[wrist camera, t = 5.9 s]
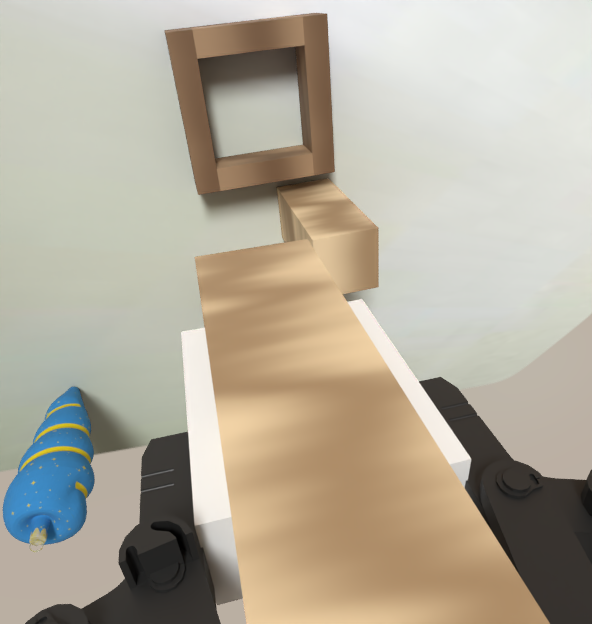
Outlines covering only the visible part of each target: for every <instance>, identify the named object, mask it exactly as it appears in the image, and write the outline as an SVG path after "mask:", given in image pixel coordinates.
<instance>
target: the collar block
mask: <svg viewBox="0 0 592 624" xmlns="http://www.w3.org/2000/svg"><path fill="white" fill-rule="evenodd" d="M165 35H166V40H167V45H168V50H169V55H170V60H171V65H172V70H173V75H174V80H175V85H176V90H177V94H178V99H179V104H180V109H181V114H182V119H183V124H184V129H185V134H186V139H187V144H188V149H189V154H190V159H191V164H192V169H193V174H194V179H195V184H196V188H197V192H198V195H200V194H206V193H212V192H218V191H224V190H230V189H236V188H242V187H248V186H254V185H260V184H266V183H272V182H278V181H284V180H289V179H295V178H301V177H307V176H313V175H319V174H325V173H331V172H335V167H334V146H333V126H332V105H331V84H330V63H329V43H328V22H327V14H323V13H311V14H302V15H293V16H285V17H276V18H268V19H259V20H250V21H242V22H233V23H224V24H216V25H207V26H198V27H190V28H181V29H173V30H165ZM287 47H295V50H296V63H297V75H298V87H299V100H300V112H301V125H302V137H303V145H298V146H292V147H286V148H279V149H273V150H267V151H260V152H254V153H247V154H241V155H235V156H228V157H222V158H216V159H215V156H214V151H213V145H212V139H211V133H210V128H209V122H208V116H207V111H206V105H205V99H204V94H203V88H202V82H201V76H200V71H199V65H198V59H199V58H207V57H215V56H223V55H231V54H239V53H247V52H255V51H263V50H271V49H279V48H287Z"/></svg>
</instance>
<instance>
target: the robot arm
mask: <svg viewBox="0 0 592 624" xmlns="http://www.w3.org/2000/svg"><path fill="white" fill-rule="evenodd" d="M348 304H349V305H350V307H351V309H352V310H353V312H354V313H355V315H356V317H357V318H358V320H359V321H360V323H361V325H362V326H363V328H364V329H365V331H366V332H367V334H368V336H369V337H370V339H371V340H372V342H373V344H374V345H375V347H376V348H377V350H378V352H379V353H380V355H381V356H382V358H383V359H384V361H385V363H386V364H387V366H388V367H389V369H390V371H391V372H392V374H393V375H394V377H395V379H396V380H397V382H398V383H399V385H400V386H401V388H402V390H403V391H404V393H405V394H406V396H407V398H408V399H409V401H410V402H411V404H412V405H413V407H414V409H415V410H416V412H417V413H418V415H419V417H420V418H421V420H422V421H423V423H424V425H425V426H426V428H427V429H428V431H429V432H430V434H431V436H432V437H433V439H434V440H435V442H436V444H437V445H438V447H439V448H440V450H441V452H442V453H443V455H444V456H445V458H446V459H447V461H448V463H449V464H450V466H451V467H452V469H453V471H454V472H455V474H456V475H457V477H458V479H459V480H460V482H461V483H462V485H463V486H464V488H465V490H466V491H467V493H468V494H469V496H470V498H471V499H472V501H473V502H474V504H475V506H476V507H477V509H478V510H479V512H480V513H481V515H482V517H483V518H484V520H485V521H486V523H487V525H488V526H489V528H490V529H491V531H492V532H493V534H494V536H495V537H496V539H497V540H498V542H499V544H500V545H501V547H502V548H503V550H504V552H505V553H506V555H507V556H508V558H509V559H510V561H511V563H512V564H513V566H514V567H515V569H516V571H517V572H518V574H519V575H520V577H521V579H522V580H523V582H524V583H525V585H526V586H527V588H528V590H529V591H530V593H531V594H532V596H533V598H534V599H535V601H536V602H537V604H538V606H539V607H540V609H541V610H542V612H543V613H544V615H545V617H546V618H547V620H548V621H549V623H550V624H592V470H591V471H590V474H589V475H588V478H587V480H575V479H555V478H548V477H543V476H542V475H541V474H540V473H539V472H537V471H536V470H535V469H533V468H532V467H530V466H529V465H526V464H523V463H521V462H518V461H514V460H513V459H512V458H511V457H510V455H509V454H508V453H507V452H506V450H505V449H504V448H503V446H502V445H501V444H500V442H499V441H498V440H497V439H496V437H495V436H494V435H493V433H492V432H491V431H490V430H489V428H488V427H487V426H486V425H485V423H484V422H483V420H482V419H481V418H480V417H479V416H477V413H476V411H475V410H474V409H473V408H472V406H471V405H470V404H468V401H467V400H466V398H465V397H464V396H463V395H462V393H461V392H460V391H459V389H458V388H457V387H455V386H454V385H452V384H451V383H449V382H448V381H446V380H444V379H443V378H441V377H438V378H434V379H429V380H424V381H419V382H418V380H417V379H416V377H415V376H414V374H413V373H412V371H411V370H410V368H409V367H408V365H407V364H406V363H405V361H404V360H403V358H402V357H401V355H400V354H399V352H398V351H397V349H396V348H395V346H394V345H393V344H392V342H391V341H390V339H389V338H388V336H387V335H386V333H385V332H384V330H383V329H382V327H381V326H380V325H379V323H378V322H377V320H376V319H375V317H374V316H373V314H372V313H371V311H370V310H369V308H368V307H367V305H366V304H365V303H364V301H363V300H362V299H360V300H354V301H349V302H348ZM181 336H182V350H183V365H184V379H185V394H186V408H187V423H188V432H184V433H180V434H175V435H170V436H165V437H161V438H156V439H151V441H150V443H149V445H148V447H147V448H146V450H145V452H144V454H143V456H142V469H141V470H142V471H141V476H142V479H141V499H140V524H138V525H137V526H135V528H134V529H133V530H132V531H131V532H130V533H129V534H128V535H127V536H126V537H125V539H124V541H123V544H122V545H121V548H120V550H119V565H120V568H121V570H122V572H123V575H124V577H125V579H124V580H123V582H121V583H120V585H118V587H116V588H115V589H114V590H112V591H111V592H109V593H108V594H106V595H104V596H103V597H101V598H99V599H98V600H96V601H94V602H92V603H91V604H89V605H87V606H86V607H84V608H82V609H80V608H78V607H76V606H74V605H72V604H57V605H54V606H52V607H49V608H47V609H44V610H42V611H40V612H39V613H38V614H36V615H35V616H34V617H32V618H31V619H30V620H28V621H27V622H26V623H25V624H221V623H220V620H219V617H218V614H217V610H216V603H217V605H220V604H223V603H227V602H231V601H234V600H238V599H242V598H243V596H242V588H241V581H240V574H239V567H238V560H237V553H236V546H235V539H234V532H233V525H232V517H231V510H230V503H229V496H228V489H227V482H226V475H225V468H224V461H223V454H222V447H221V439H220V432H219V425H218V418H217V411H216V404H215V397H214V390H213V383H212V376H211V368H210V361H209V354H208V347H207V340H206V333H205V328H199V329H194V330H188V331H183V332H181Z"/></svg>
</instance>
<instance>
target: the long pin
mask: <svg viewBox="0 0 592 624" xmlns="http://www.w3.org/2000/svg"><path fill="white" fill-rule="evenodd" d="M195 262H196V269H197V276H198V283H199V290H200V298H201V305H202V312H203V319H204V326H205V333H206V340H207V347H208V354H209V361H210V368H211V376H212V383H213V390H214V397H215V404H216V411H217V418H218V425H219V432H220V439H221V447H222V454H223V461H224V468H225V475H226V482H227V489H228V496H229V503H230V510H231V517H232V525H233V532H234V539H235V546H236V553H237V560H238V567H239V574H240V581H241V588H242V596H243V603H244V610H245V617H246V624H550V623H549V621H548V620H547V618H546V617H545V615H544V613H543V612H542V610H541V609H540V607H539V606H538V604H537V602H536V601H535V599H534V598H533V596H532V594H531V593H530V591H529V590H528V588H527V586H526V585H525V583H524V582H523V580H522V579H521V577H520V575H519V574H518V572H517V571H516V569H515V567H514V566H513V564H512V563H511V561H510V559H509V558H508V556H507V555H506V553H505V552H504V550H503V548H502V547H501V545H500V544H499V542H498V540H497V539H496V537H495V536H494V534H493V532H492V531H491V529H490V528H489V526H488V525H487V523H486V521H485V520H484V518H483V517H482V515H481V513H480V512H479V510H478V509H477V507H476V506H475V504H474V502H473V501H472V499H471V498H470V496H469V494H468V493H467V491H466V490H465V488H464V486H463V485H462V483H461V482H460V480H459V479H458V477H457V475H456V474H455V472H454V471H453V469H452V467H451V466H450V464H449V463H448V461H447V459H446V458H445V456H444V455H443V453H442V452H441V450H440V448H439V447H438V445H437V444H436V442H435V440H434V439H433V437H432V436H431V434H430V432H429V431H428V429H427V428H426V426H425V425H424V423H423V421H422V420H421V418H420V417H419V415H418V413H417V412H416V410H415V409H414V407H413V405H412V404H411V402H410V401H409V399H408V398H407V396H406V394H405V393H404V391H403V390H402V388H401V386H400V385H399V383H398V382H397V380H396V379H395V377H394V375H393V374H392V372H391V371H390V369H389V367H388V366H387V364H386V363H385V361H384V359H383V358H382V356H381V355H380V353H379V352H378V350H377V348H376V347H375V345H374V344H373V342H372V340H371V339H370V337H369V336H368V334H367V332H366V331H365V329H364V328H363V326H362V325H361V323H360V321H359V320H358V318H357V317H356V315H355V313H354V312H353V310H352V309H351V307H350V305H349V304H348V302H347V301H346V299H345V298H344V296H343V294H342V293H341V291H340V290H339V288H338V286H337V285H336V283H335V282H334V280H333V278H332V277H331V275H330V274H329V272H328V271H327V269H326V267H325V266H324V264H323V263H322V261H321V259H320V258H319V256H318V255H317V253H316V252H315V250H314V248H313V247H312V245H311V244H310V242H309V240H308V239H304V240H298V241H292V242H286V243H279V244H273V245H267V246H260V247H254V248H248V249H241V250H235V251H229V252H222V253H216V254H210V255H204V256H197V257H195Z"/></svg>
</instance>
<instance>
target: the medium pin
mask: <svg viewBox="0 0 592 624" xmlns="http://www.w3.org/2000/svg"><path fill="white" fill-rule="evenodd" d="M277 196H278V204H279V213H280V222H281V231H282V237H283V239H284V241H285V243H286V242H292V241H298V240H304V239H308V240H309V242H310V244H311V245H312V247H313V248H314V250H315V252H316V253H317V255H318V256H319V258H320V259H321V261H322V263H323V264H324V266H325V267H326V269H327V271H328V272H329V274H330V275H331V277H332V278H333V280H334V282H335V283H336V285H337V286H338V288H339V290H340V291H341V293H342V294H347V293H351V292H356V291H361V290H366V289H371V288H376V287H378V227H377V226H376V225H375V224H374V223H373V222H372V221H371V220H370V219H369V218H368V217H367V216H366V215H365V214H364V213H363V212H362V211H361V210H360V209H359V208H358V207H357V206H356V205H355V204H354V203H353V202H352V201H351V200H350V199H349V198H348V197H347V196H346V195H345V194H344V193H343V192H342V191H341V190H340V189H339V188H338V187H337V186H336V185H335V184H334V183H333V182H332V181H331V180H330V179H329V178H328V179H322V180H316V181H310V182H304V183H298V184H292V185H286V186H280V187H277Z"/></svg>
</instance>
